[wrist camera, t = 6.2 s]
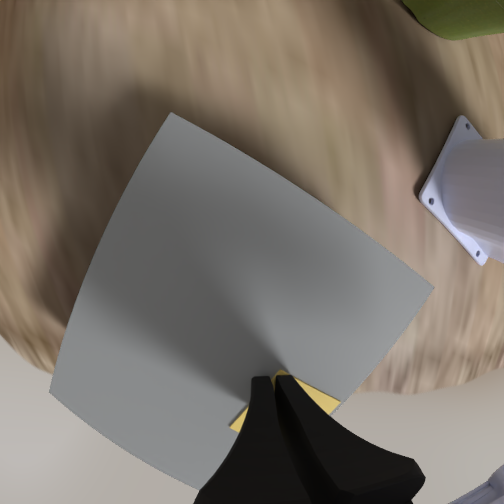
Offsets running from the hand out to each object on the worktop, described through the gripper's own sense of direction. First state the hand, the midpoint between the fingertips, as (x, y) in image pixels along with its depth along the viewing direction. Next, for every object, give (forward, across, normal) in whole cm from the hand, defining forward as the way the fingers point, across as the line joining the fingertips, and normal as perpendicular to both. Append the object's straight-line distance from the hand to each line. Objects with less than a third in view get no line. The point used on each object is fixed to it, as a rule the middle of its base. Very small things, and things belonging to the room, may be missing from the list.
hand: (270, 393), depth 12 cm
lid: (+1, +3, -1) cm, 3 cm away
